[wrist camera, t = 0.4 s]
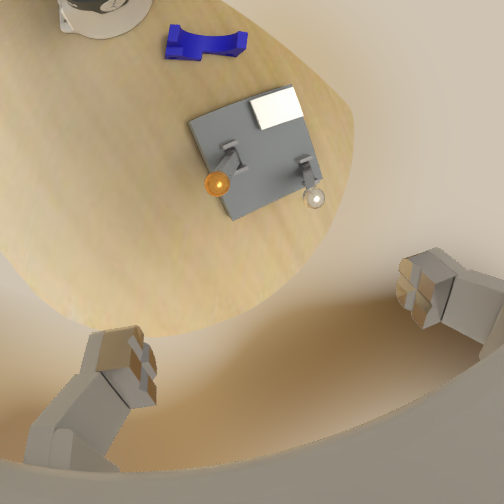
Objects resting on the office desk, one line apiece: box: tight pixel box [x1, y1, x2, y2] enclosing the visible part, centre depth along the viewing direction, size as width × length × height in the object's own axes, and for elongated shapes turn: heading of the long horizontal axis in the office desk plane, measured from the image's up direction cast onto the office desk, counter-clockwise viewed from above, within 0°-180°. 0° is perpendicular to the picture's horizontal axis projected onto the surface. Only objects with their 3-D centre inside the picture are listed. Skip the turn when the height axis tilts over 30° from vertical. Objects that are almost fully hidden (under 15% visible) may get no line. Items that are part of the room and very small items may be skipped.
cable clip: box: [165, 24, 248, 61], centre depth 39 cm, size 12×4×6 cm, turn 84°
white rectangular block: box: [250, 87, 303, 130], centre depth 43 cm, size 5×7×2 cm
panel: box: [187, 84, 323, 221], centre depth 48 cm, size 18×18×6 cm
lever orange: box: [204, 147, 242, 197], centre depth 39 cm, size 3×3×15 cm
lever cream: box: [300, 161, 325, 209], centre depth 44 cm, size 3×3×15 cm
